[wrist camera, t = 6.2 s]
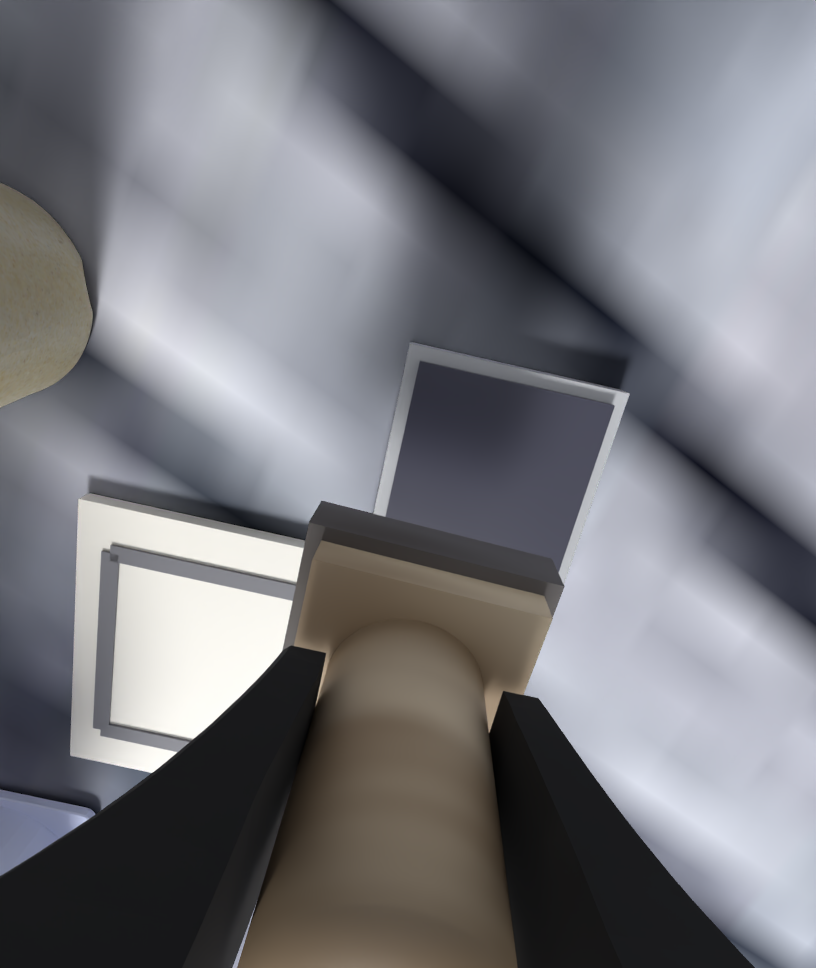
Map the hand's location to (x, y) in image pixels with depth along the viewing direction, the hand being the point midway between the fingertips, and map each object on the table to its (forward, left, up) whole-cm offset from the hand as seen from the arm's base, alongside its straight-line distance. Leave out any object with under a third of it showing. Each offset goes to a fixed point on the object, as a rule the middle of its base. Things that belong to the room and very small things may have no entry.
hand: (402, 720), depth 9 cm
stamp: (0, 0, -3) cm, 3 cm away
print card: (-7, +6, -10) cm, 14 cm away
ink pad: (+2, -2, -10) cm, 10 cm away
